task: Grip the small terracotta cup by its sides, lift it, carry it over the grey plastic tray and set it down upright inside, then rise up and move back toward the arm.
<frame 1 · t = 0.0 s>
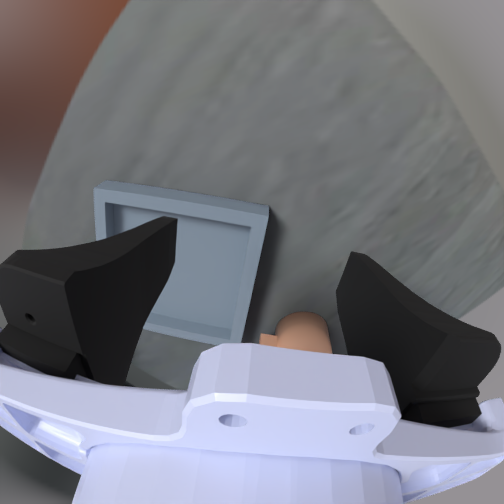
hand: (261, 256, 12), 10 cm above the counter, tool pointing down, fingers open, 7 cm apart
terracotta cup: (301, 331, 27), on the counter
tray: (176, 264, 25), on the counter
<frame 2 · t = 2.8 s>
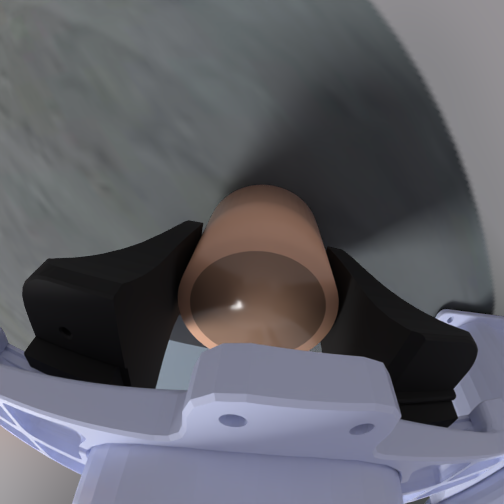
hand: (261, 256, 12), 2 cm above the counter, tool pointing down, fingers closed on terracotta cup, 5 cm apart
terracotta cup: (262, 238, 13), on the counter, touching gripper
tray: (159, 376, 19), on the counter
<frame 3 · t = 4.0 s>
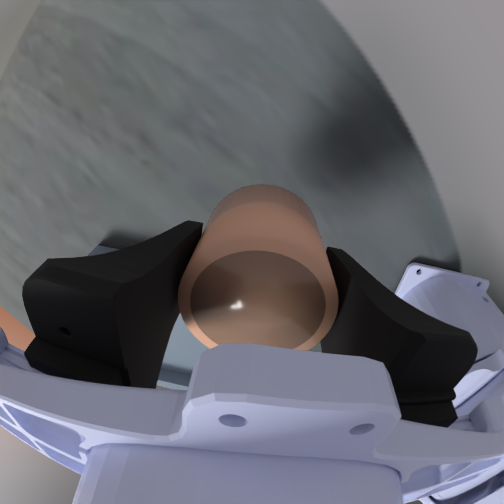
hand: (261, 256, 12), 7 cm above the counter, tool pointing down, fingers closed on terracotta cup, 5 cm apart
terracotta cup: (262, 238, 13), point 5 cm above the counter, touching gripper
tray: (176, 327, 24), on the counter
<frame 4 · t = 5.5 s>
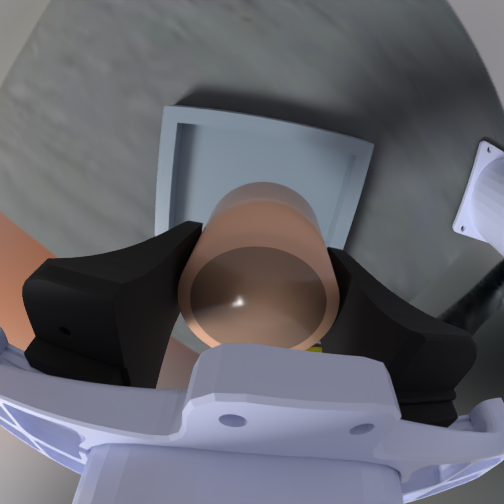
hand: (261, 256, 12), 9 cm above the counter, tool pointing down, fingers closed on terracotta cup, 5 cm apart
terracotta cup: (263, 235, 13), point 8 cm above the counter, touching gripper
tray: (253, 208, 21), on the counter
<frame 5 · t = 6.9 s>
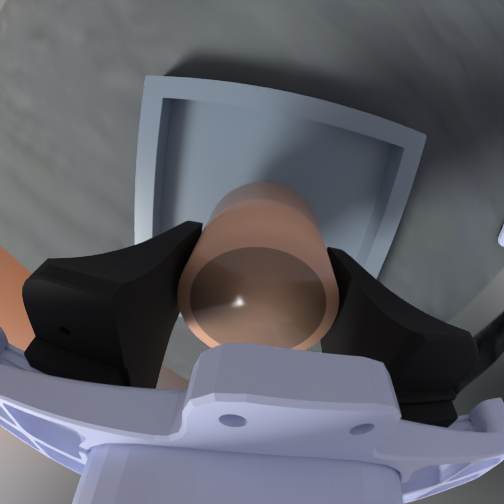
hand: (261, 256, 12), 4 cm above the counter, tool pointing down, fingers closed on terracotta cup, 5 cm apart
terracotta cup: (263, 236, 13), point 3 cm above the counter, touching gripper
tray: (264, 214, 16), on the counter
when the fingers open (3 cm above the counter, at t = 8.2 s): terracotta cup stays where it is, resting on tray.
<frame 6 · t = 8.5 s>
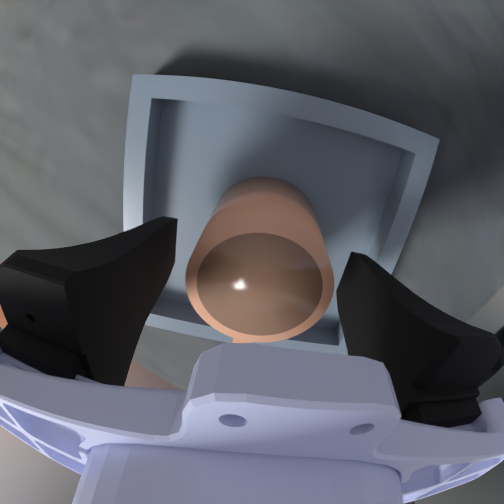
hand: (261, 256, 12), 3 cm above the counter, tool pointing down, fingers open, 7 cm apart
terracotta cup: (263, 227, 14), point 1 cm above the counter, touching tray
tray: (263, 224, 15), on the counter
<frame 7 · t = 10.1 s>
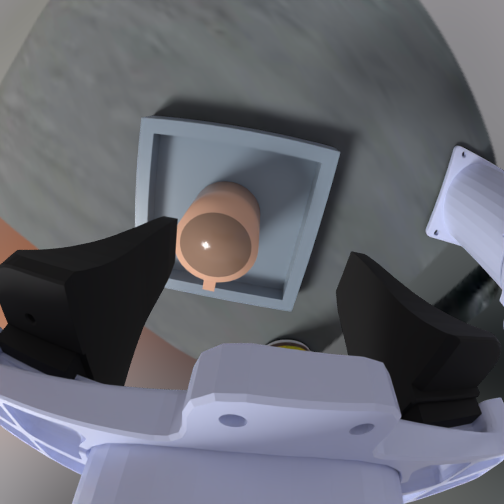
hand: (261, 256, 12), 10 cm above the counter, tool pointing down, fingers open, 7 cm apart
terracotta cup: (225, 214, 22), point 1 cm above the counter, touching tray
tray: (226, 212, 22), on the counter
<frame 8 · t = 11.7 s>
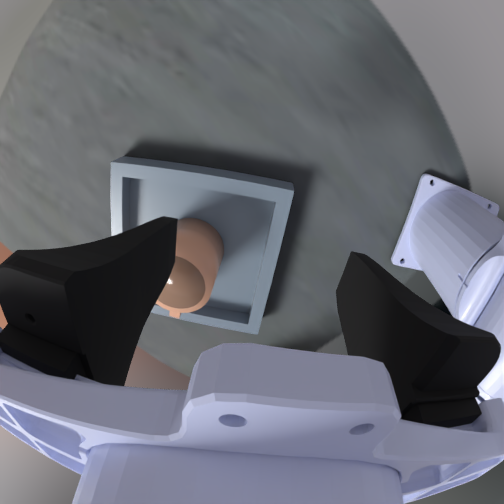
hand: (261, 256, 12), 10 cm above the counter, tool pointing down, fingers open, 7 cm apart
terracotta cup: (192, 247, 23), point 1 cm above the counter, touching tray
tray: (194, 244, 24), on the counter
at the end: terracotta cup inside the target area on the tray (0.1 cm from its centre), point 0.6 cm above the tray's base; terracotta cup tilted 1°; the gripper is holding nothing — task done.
